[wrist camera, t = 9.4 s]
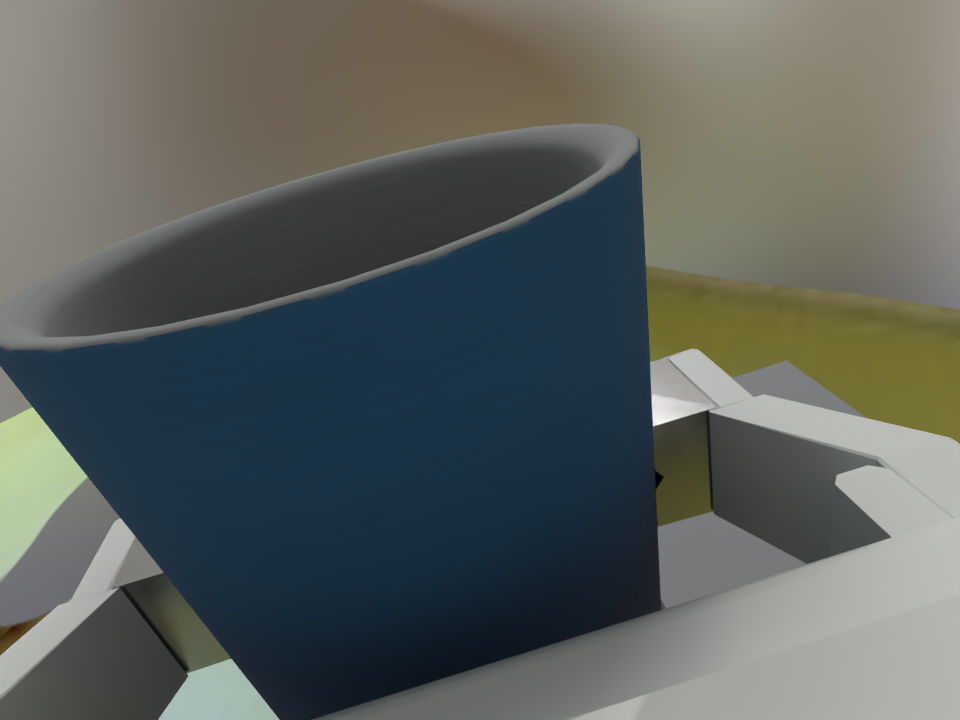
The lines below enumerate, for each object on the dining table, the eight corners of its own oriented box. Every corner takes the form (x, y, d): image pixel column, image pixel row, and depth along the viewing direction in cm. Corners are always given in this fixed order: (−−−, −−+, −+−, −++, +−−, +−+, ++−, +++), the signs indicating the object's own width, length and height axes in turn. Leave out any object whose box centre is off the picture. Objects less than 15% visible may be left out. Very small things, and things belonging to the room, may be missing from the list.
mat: (847, 953, 13) (849, 940, 13) (571, 443, 31) (568, 431, 30) (1330, 779, 14) (1346, 761, 13) (786, 373, 31) (786, 360, 31)
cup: (469, 689, 17) (272, 177, 11) (718, 735, 15) (663, 94, 8) (357, 1010, 12) (-190, 367, 5) (724, 1177, 9) (563, 304, 3)
